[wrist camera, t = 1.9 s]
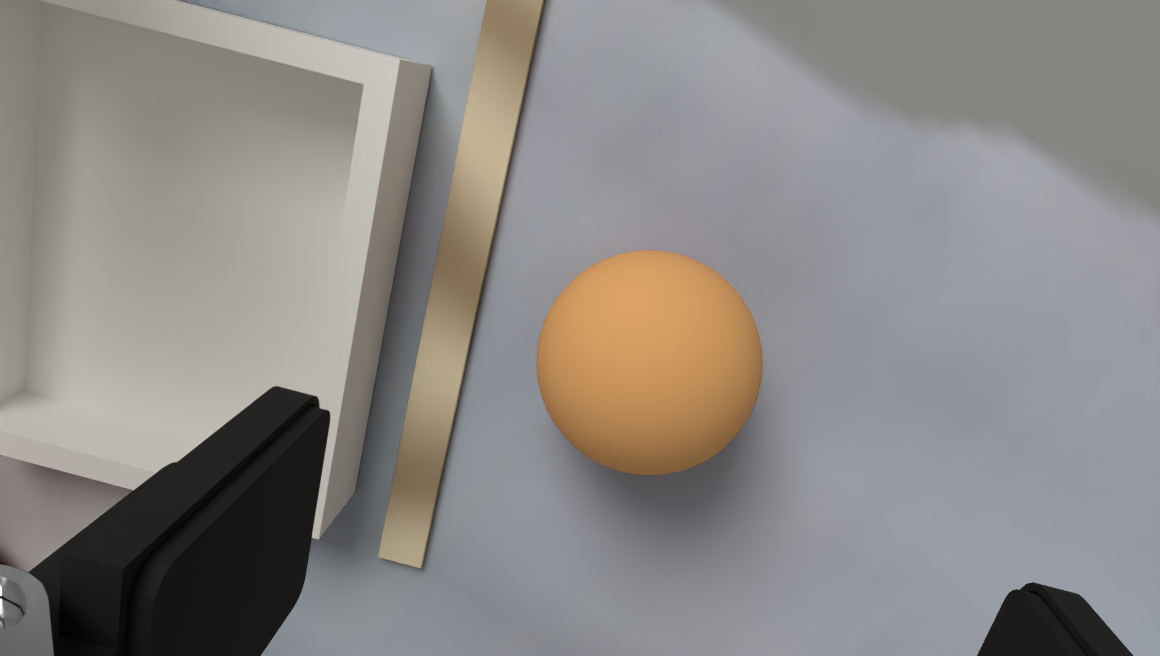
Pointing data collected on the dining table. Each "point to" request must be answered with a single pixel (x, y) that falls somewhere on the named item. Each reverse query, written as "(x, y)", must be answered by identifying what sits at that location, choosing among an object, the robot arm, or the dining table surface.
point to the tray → (192, 230)
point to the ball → (649, 362)
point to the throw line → (460, 271)
